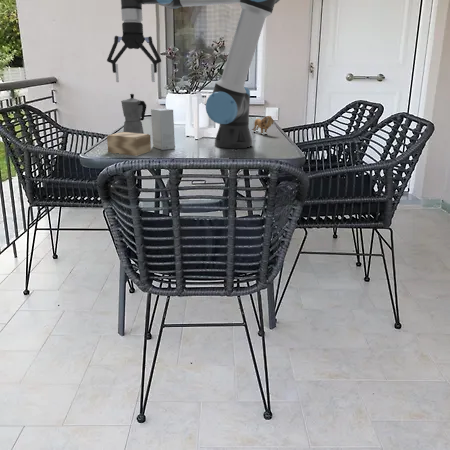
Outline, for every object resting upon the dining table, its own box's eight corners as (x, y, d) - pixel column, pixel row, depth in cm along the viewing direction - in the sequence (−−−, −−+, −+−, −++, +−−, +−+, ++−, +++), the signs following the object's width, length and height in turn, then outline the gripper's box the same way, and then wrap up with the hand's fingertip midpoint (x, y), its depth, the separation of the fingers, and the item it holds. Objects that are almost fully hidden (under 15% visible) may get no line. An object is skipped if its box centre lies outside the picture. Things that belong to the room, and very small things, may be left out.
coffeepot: (115, 135, 210) (113, 93, 205) (132, 133, 217) (131, 92, 211) (137, 139, 201) (136, 95, 195) (154, 137, 208) (154, 94, 202)
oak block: (150, 151, 178) (150, 134, 176) (136, 155, 169) (136, 137, 167) (123, 148, 182) (122, 131, 180) (107, 152, 173) (107, 135, 171)
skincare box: (175, 149, 183) (174, 109, 178) (161, 150, 180) (160, 110, 175) (165, 145, 189) (164, 107, 184) (151, 146, 186) (150, 108, 181)
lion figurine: (275, 135, 223) (276, 116, 220) (266, 136, 220) (267, 116, 217) (254, 131, 234) (255, 112, 231) (246, 132, 231) (247, 113, 228)
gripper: (163, 23, 183) (165, 81, 190) (97, 22, 177) (101, 81, 183) (167, 22, 177) (169, 82, 183) (98, 20, 170) (102, 82, 177)
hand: (135, 82), depth 183 cm, fingers open, 13 cm apart
